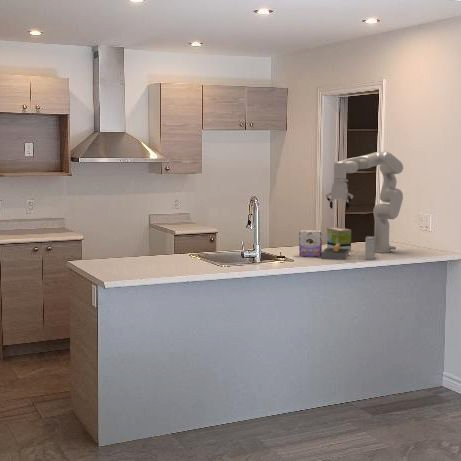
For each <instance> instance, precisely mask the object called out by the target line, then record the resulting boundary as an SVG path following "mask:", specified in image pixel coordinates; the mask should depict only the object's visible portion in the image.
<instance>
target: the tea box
mask: <svg viewBox="0 0 461 461" xmlns="http://www.w3.org/2000/svg"><path fill="white" fill-rule="evenodd" d="M326 229H327V230H326V231H327V232H326V236H327V238H326V248H334V246H335V245H336V244H340V249H349V252H351V251H352V229H350V228H349V229H348V228H343V227H339V226H338V227H328V228H326Z"/></svg>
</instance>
